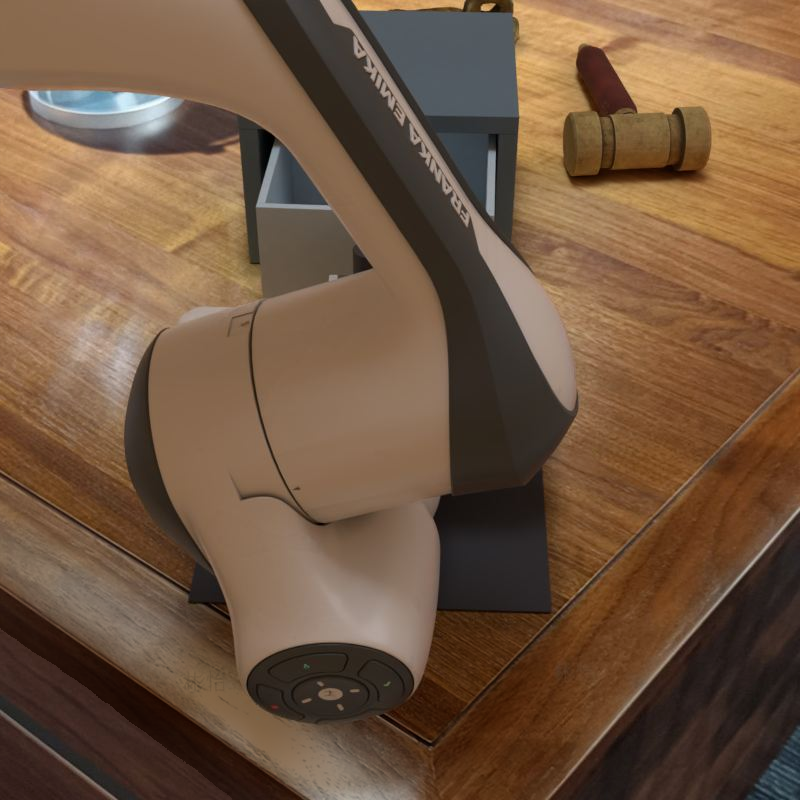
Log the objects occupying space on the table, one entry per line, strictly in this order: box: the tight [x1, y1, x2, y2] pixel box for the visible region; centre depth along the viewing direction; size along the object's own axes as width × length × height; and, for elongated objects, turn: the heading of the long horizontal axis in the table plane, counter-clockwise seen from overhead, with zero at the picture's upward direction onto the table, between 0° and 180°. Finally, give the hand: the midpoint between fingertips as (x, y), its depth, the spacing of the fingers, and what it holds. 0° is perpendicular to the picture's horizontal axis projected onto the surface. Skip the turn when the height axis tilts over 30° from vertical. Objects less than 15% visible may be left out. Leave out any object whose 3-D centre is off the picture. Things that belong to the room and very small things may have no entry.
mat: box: [187, 466, 552, 614], centre depth 72 cm, size 18×12×1 cm, turn 88°
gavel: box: [562, 42, 712, 177], centre depth 106 cm, size 21×5×10 cm
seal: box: [386, 0, 520, 42], centre depth 116 cm, size 9×5×15 cm
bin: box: [256, 133, 496, 299], centre depth 85 cm, size 14×17×9 cm
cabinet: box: [236, 9, 520, 264], centre depth 93 cm, size 17×16×11 cm
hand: (369, 285), depth 78 cm, fingers closed on bin
